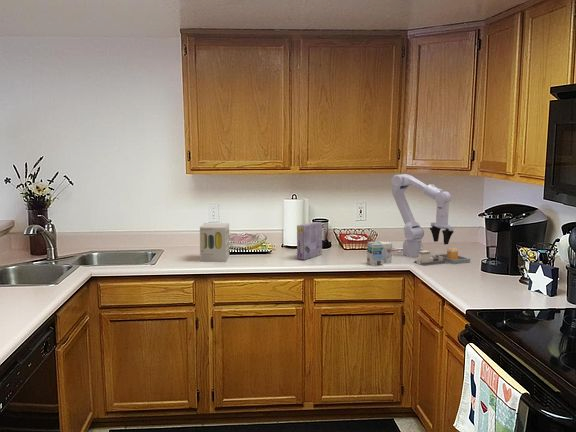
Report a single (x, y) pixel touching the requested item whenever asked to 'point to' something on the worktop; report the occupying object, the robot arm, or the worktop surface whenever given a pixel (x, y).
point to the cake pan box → (309, 240)
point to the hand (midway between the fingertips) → (440, 242)
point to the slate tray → (459, 261)
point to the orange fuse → (452, 254)
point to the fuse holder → (431, 261)
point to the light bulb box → (379, 253)
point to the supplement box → (214, 242)
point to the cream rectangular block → (424, 256)
